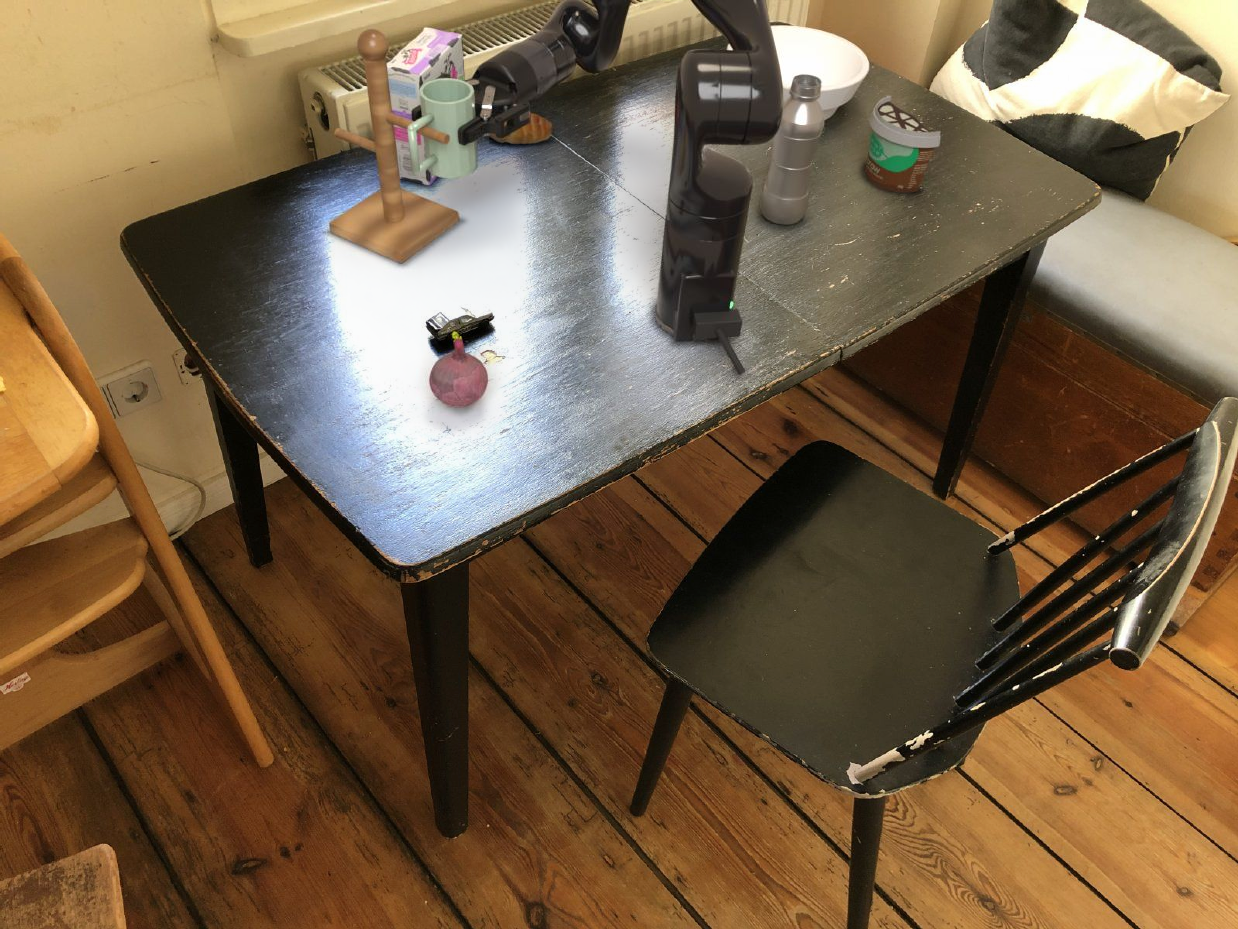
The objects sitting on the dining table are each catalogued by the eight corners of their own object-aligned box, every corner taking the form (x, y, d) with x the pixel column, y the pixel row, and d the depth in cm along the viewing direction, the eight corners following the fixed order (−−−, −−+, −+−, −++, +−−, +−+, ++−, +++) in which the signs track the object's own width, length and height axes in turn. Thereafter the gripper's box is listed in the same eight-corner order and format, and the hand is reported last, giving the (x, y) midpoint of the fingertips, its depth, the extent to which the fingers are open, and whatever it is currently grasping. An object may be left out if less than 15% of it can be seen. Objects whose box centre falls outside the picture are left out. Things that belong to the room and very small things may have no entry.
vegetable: (498, 396, 113) (495, 326, 105) (471, 431, 109) (466, 361, 101) (451, 379, 114) (445, 309, 107) (422, 413, 110) (414, 343, 103)
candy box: (430, 187, 141) (420, 74, 129) (392, 178, 142) (378, 65, 130) (470, 141, 151) (464, 32, 139) (434, 133, 152) (425, 24, 140)
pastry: (552, 125, 155) (552, 102, 152) (550, 148, 150) (550, 125, 148) (491, 122, 155) (490, 99, 152) (487, 145, 150) (486, 121, 147)
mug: (447, 146, 132) (442, 72, 124) (488, 162, 129) (484, 88, 122) (394, 181, 125) (385, 106, 118) (436, 198, 123) (429, 122, 116)
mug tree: (483, 230, 135) (473, 35, 116) (426, 274, 127) (405, 74, 108) (378, 187, 141) (353, -5, 121) (318, 227, 133) (281, 29, 114)
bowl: (785, 62, 175) (794, 13, 169) (886, 114, 164) (899, 64, 157) (691, 96, 164) (697, 45, 158) (791, 155, 153) (801, 103, 147)
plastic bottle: (802, 234, 138) (833, 95, 124) (754, 226, 139) (778, 88, 125) (806, 209, 143) (836, 72, 128) (759, 201, 143) (783, 65, 129)
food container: (840, 163, 152) (855, 100, 145) (872, 155, 154) (889, 93, 147) (890, 204, 145) (908, 141, 138) (923, 195, 147) (943, 132, 140)
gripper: (471, 35, 132) (387, 82, 122) (561, 66, 128) (483, 117, 118) (473, 89, 138) (394, 139, 128) (561, 121, 133) (486, 175, 123)
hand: (437, 128), depth 123 cm, fingers closed on mug, 6 cm apart
